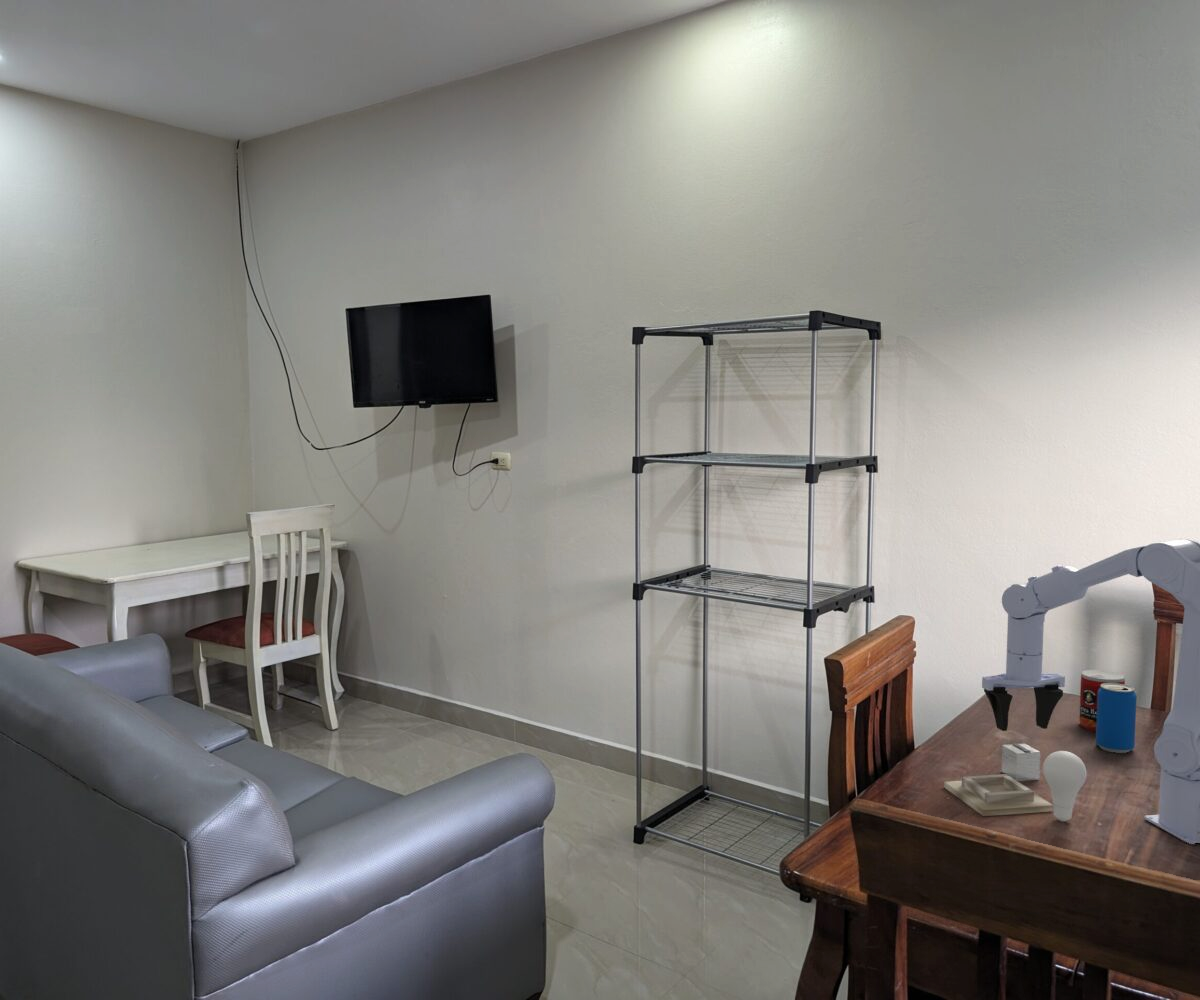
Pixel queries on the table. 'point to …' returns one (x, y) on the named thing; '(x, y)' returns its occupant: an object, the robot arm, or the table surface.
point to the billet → (1021, 762)
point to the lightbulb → (1064, 781)
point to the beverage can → (1116, 717)
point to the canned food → (1094, 694)
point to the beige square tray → (997, 795)
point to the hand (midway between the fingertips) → (1021, 728)
